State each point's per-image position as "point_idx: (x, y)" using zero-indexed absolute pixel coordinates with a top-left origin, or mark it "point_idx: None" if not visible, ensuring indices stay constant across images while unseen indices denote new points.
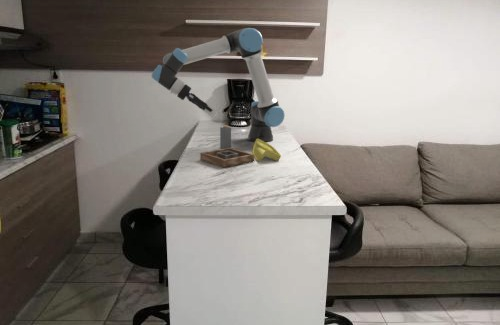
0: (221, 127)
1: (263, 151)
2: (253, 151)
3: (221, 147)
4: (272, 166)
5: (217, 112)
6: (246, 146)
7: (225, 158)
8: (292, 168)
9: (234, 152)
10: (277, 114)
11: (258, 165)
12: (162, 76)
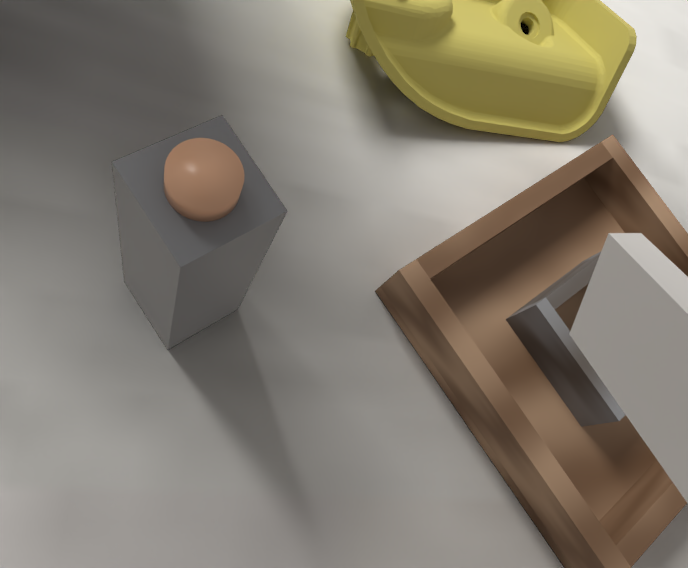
0: (189, 249)
1: (524, 45)
2: (422, 95)
3: (188, 332)
4: (664, 96)
5: (652, 253)
6: (42, 61)
7: None
8: (684, 17)
9: (593, 265)
10: None
11: (655, 163)
12: None
